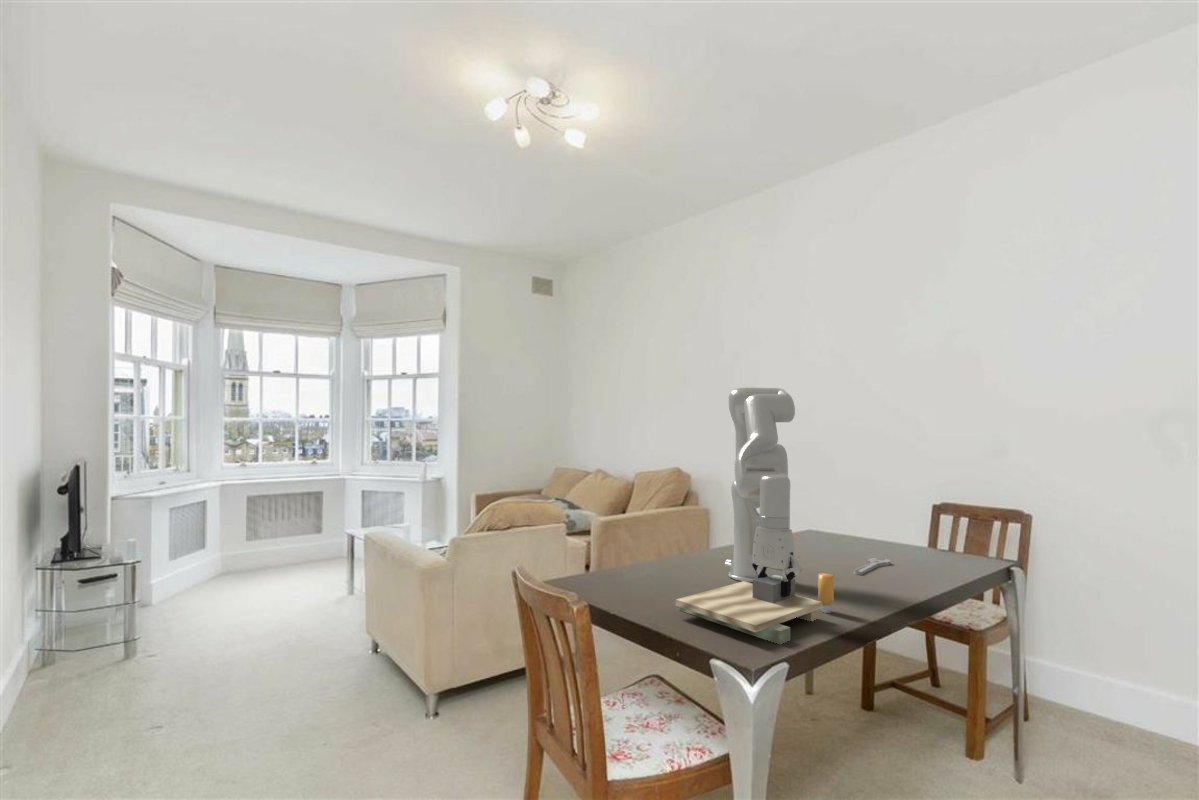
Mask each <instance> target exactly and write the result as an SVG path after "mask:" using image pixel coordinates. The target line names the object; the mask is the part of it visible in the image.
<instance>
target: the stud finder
mask: <svg viewBox="0 0 1199 800" xmlns="http://www.w3.org/2000/svg"><path fill="white" fill-rule="evenodd" d="M781 581H783V578H782V575H781V574H779V573H773V574H769V576H765V577H762V578H758V579H754V580H753V582H752V584H753V598H756V599H759V600H763V601H766V602H770V603H776V602H779V601H782V600H785V599H788V598H791V597H794V596H795V595H796V577H794V578H793V580H791V593H790V596H787V597H781Z"/></svg>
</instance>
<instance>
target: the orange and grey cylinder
mask: <svg viewBox="0 0 1199 800" xmlns="http://www.w3.org/2000/svg"><path fill="white" fill-rule="evenodd" d="M834 576H835V575H833V573H832V574H831V573H828V572H827V573H825V572H822V573H818V575H817V578H818V580H817V586H818V588H817V589H818V590H817V591H818V594H817V601H820V602H822V608H821V609H820V612H821V613H823V612H824V613H823V614H831V613H832V605H833V604H834V603H835V602H834V601H835V599H834V598H835V597H834V596H835V594H834V592H835V591H834V590H835V587H834V586H835V585H834V583H835V582H834V581H835V578H834Z"/></svg>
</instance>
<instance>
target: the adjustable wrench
mask: <svg viewBox="0 0 1199 800" xmlns="http://www.w3.org/2000/svg"><path fill="white" fill-rule="evenodd" d="M890 565H891V560H890V559H887V558H885V559H884V560H881V559H877V557H872V558H869V559H867V563H866V564H865V565H862V566H860V567H857V568H856V569H854V570H853V573H854V574H853V575H855V574H856V575H857V576H863V575H864V574H866V573H868V572H871V571H872V570H874V569H876V568H878V567H879V568H880V567H885V566H890ZM856 575H855V576H856Z"/></svg>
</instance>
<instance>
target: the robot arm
mask: <svg viewBox="0 0 1199 800" xmlns="http://www.w3.org/2000/svg"><path fill="white" fill-rule="evenodd" d="M728 408H729V409H728V410H729V414H730V417H731V419H732V421H733V425H734V429H735V430H734V431H735V460H734V475H735V476H734V478H735V479H734V481H732V484H731V488H730V491H731V492H730V493H731V499H732V507H733V559H730V558H727V559H726V560H725V562H724V566H725V567H730V570H729V571H728V577H730V578H731V579H733V580H735V581H739V582H742V581H745V582H749V583H753V580H754V579H758V578H762V577H765V576H769V575H770V574H769V573H768V572H767V570H768V569H771V570H776V571H779V572H780V575H782V578H783V581H781V597H787V596H790V593H791V580H793V578H796V577H797V576H798V575H799V574H800V573H801V572H802V571H803V567H802V565H800V562H798V560H797V559H796V550H795V540H794V534H793V531H792V529H791V527H790V525H791V518H790V517H791V480H790V478H789V461H788V454H787V450H786V447H784V445H782V444H779V436H778V435H779V434H778V430H777V428H778V427H777V423H790V422H792V421H793V419H794V418H795V414H796V406H795V403H794V399H793V398H792V396H791V395H790V394H789V393H788V392H787V391H786V390H785V389H783V388H779V387H740V388H735V389H733V390H731V391H730V393H729V395H728ZM757 509H759V511H757ZM791 569H793V570H792V571H791Z"/></svg>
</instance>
